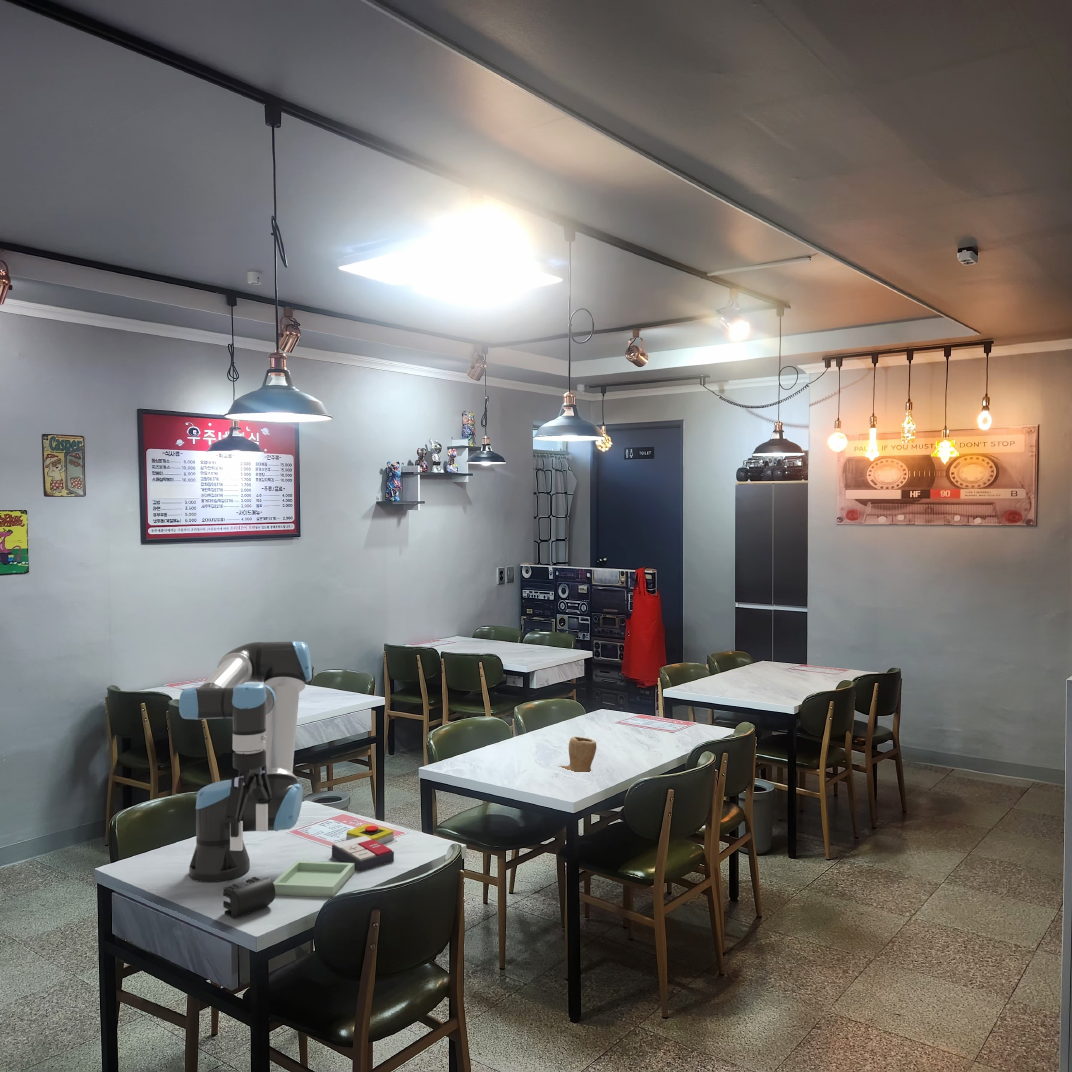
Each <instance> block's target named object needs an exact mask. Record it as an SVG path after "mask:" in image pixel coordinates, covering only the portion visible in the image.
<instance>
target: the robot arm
mask: <svg viewBox="0 0 1072 1072" xmlns="http://www.w3.org/2000/svg"><path fill="white" fill-rule="evenodd" d="M312 676H313V669H312V661H311V653H310V649H309V645H308V644H307V643H306V642H304V641H294V640H291V641H254V642H249V643H246V644H242V645H240V646H237V647H236V648H234V649H232V650H230V651H228V652H226V654H224V656H223V657H221V658H220V659H219V662H218V664H217V667H216V669H215V670H214V671H213V672H212V673H211V675H210V676H208V678H206V680H205V681H204V682H203V683H202V684H201V685H200V686H199V687H197V688H196V687H192V688H184V689H183V690H182V691H181V692H180V696H179V699H178V712H179V716H181V718H182V719H184V720H197V721H198V720H212V719H213V720H214V719H215V720H217V719H232V750H233V751H234V752H233V753H232V768H233V769H235V770H237V771H238V776H237V777H235V776H233V777H231V779H225V780H221V781H216V782H213V783H210V784H208V785H206V786H204V787H202V788H200V789H199V790H198V791H197V794H196V804H195V820H196V821H195V823H196V824H195V827H196V828H195V829H196V830H195V832H196V833H195V835H196V836H195V837H196V838H195V839H196V844H195V848H194V851H193V854H192V858H191V860H190V864H189V867H188V869H189V870H188V871H189V872H188V873H189V875H188V876H189V878H190V879H191V880H193V881H196V882H202V883H216V882H224V881H229V880H232V879H236V878H238V877H241V876H244V875H245V874H247V873H248V872H249V870H250V868H251V867H250V865H251V863H250V861H251V860H250V857H249V854H248V851H247V848H246V845H245V841H244V839H243V838H244V833H245V832H269V831H270V832H273V831H275V832H278V831H284V830H285V831H287V830H291V829H292V828H294V827H295V826H296V824H297V822H298V819H299V817H300V812H301V808H302V804H303V786H302V784H299V783H298V777H297V776H296V775H295V774H294V773H293V771H294V758H295V747H296V745H295V744H296V736H297V735H296V733H297V726H298V725H297V723H298V712H299V700H300V693H301V692H302V691H303V690H305V689H306V682H307V683H308V682H311V681H312V678H313V677H312ZM262 683H263V684H262Z"/></svg>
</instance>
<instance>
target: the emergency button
mask: <svg viewBox="0 0 1072 1072" xmlns="http://www.w3.org/2000/svg"><path fill="white" fill-rule="evenodd" d="M362 836H367V837H368V838H370V839H373V840H375V841H377V842H379V843H380V844H382V845H384V846H386V847H388V846H389V845H392V844H393V843H396V842H398V839H396V838H395V837H394V830H393V829H390V828H385V827H381V826H377V825H374V824H369V823H367V824H364V825H360V826H359V827H355V828H352V829H350V830H347V831H346V835H345V837H342V838H341V839H340V840H341V842H343V841H347V840H351V839H354V838H358V837H362Z"/></svg>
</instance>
